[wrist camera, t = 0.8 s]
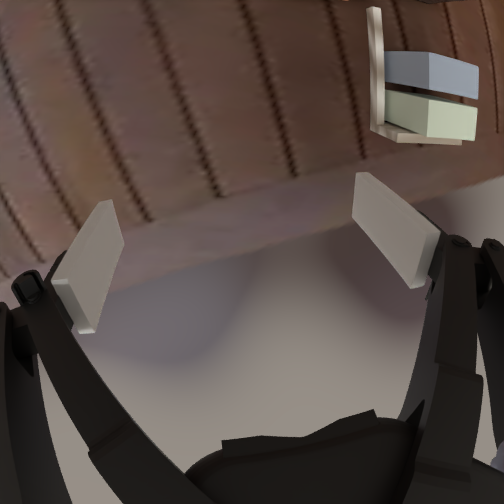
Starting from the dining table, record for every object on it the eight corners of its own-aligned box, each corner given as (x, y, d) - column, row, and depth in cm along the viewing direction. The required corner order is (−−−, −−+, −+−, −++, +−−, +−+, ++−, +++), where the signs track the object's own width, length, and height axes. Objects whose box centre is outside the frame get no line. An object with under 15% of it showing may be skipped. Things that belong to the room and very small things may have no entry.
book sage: (384, 89, 34) (428, 99, 26) (431, 95, 35) (477, 108, 27) (383, 119, 37) (426, 136, 28) (430, 122, 37) (474, 140, 29)
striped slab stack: (366, 8, 27) (394, 1, 22) (432, 24, 28) (463, 23, 22) (370, 130, 37) (397, 142, 32) (432, 132, 38) (461, 145, 32)
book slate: (383, 51, 31) (428, 52, 23) (431, 60, 32) (478, 66, 23) (384, 81, 34) (429, 89, 25) (431, 87, 34) (477, 99, 26)
